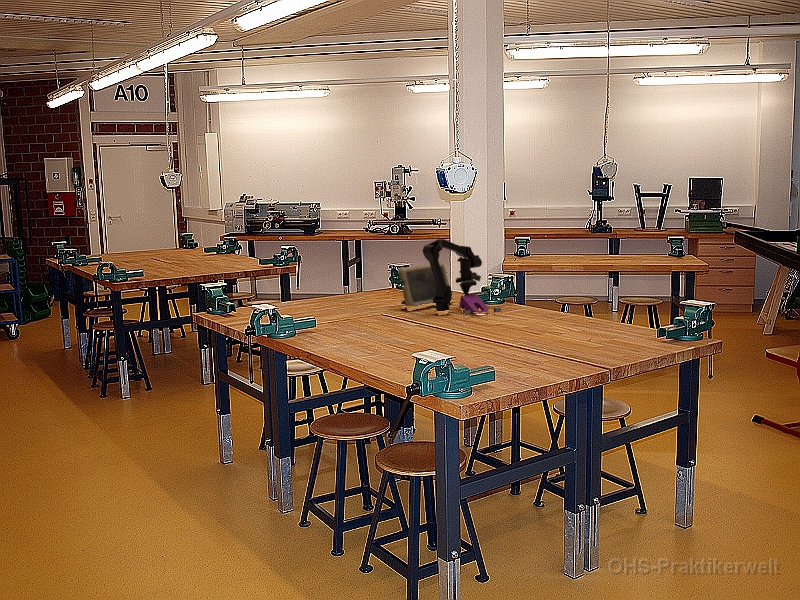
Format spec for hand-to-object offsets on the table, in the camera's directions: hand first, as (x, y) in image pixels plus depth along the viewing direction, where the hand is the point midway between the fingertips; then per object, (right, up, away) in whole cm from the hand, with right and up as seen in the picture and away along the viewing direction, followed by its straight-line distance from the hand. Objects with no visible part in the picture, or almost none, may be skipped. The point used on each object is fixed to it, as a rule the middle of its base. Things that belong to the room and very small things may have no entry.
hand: (466, 296), depth 457 cm
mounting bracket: (+4, -9, -12) cm, 16 cm away
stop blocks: (+7, -10, -23) cm, 26 cm away
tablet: (-22, -6, +17) cm, 28 cm away
